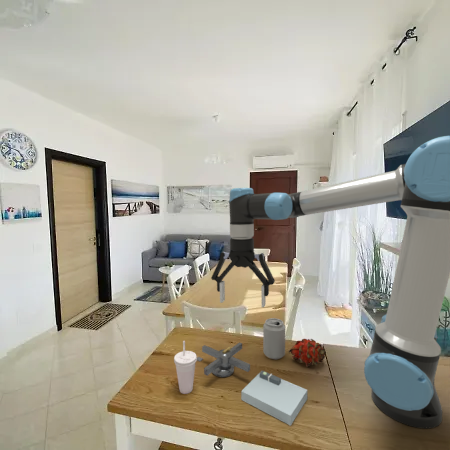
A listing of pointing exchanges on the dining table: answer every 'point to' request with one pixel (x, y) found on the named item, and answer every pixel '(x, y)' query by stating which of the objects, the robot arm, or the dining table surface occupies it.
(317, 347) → the dragon fruit
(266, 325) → the can
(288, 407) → the pale grey switch box
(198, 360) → the tick mark
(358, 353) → the dining table surface
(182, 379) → the smoothie
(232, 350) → the capstan
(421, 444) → the dining table surface
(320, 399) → the dining table surface
